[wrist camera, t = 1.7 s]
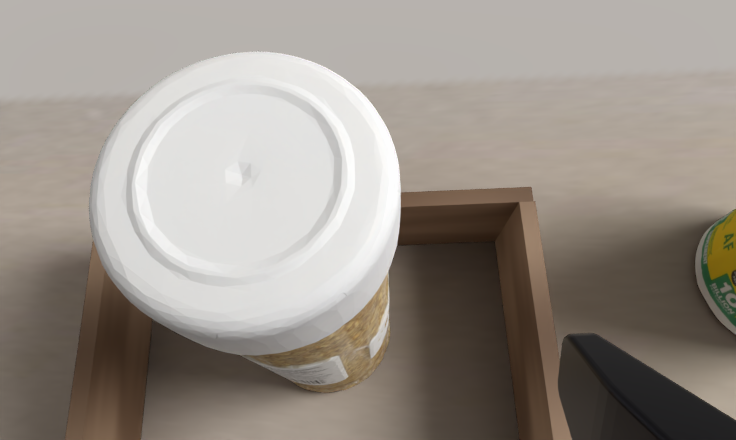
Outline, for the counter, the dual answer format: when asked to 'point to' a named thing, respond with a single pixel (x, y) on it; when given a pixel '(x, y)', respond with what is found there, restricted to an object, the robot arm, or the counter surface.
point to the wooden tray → (417, 226)
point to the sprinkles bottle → (255, 214)
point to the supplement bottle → (719, 269)
